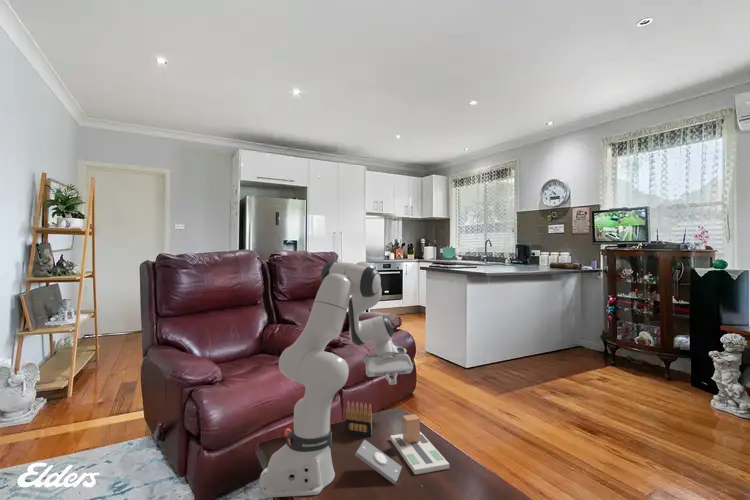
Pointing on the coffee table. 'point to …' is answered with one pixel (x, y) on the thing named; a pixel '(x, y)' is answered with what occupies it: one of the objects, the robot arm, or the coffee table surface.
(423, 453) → the switch board
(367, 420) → the ammunition clip
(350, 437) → the coffee table surface
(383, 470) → the light switch
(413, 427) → the tan rectangular block
